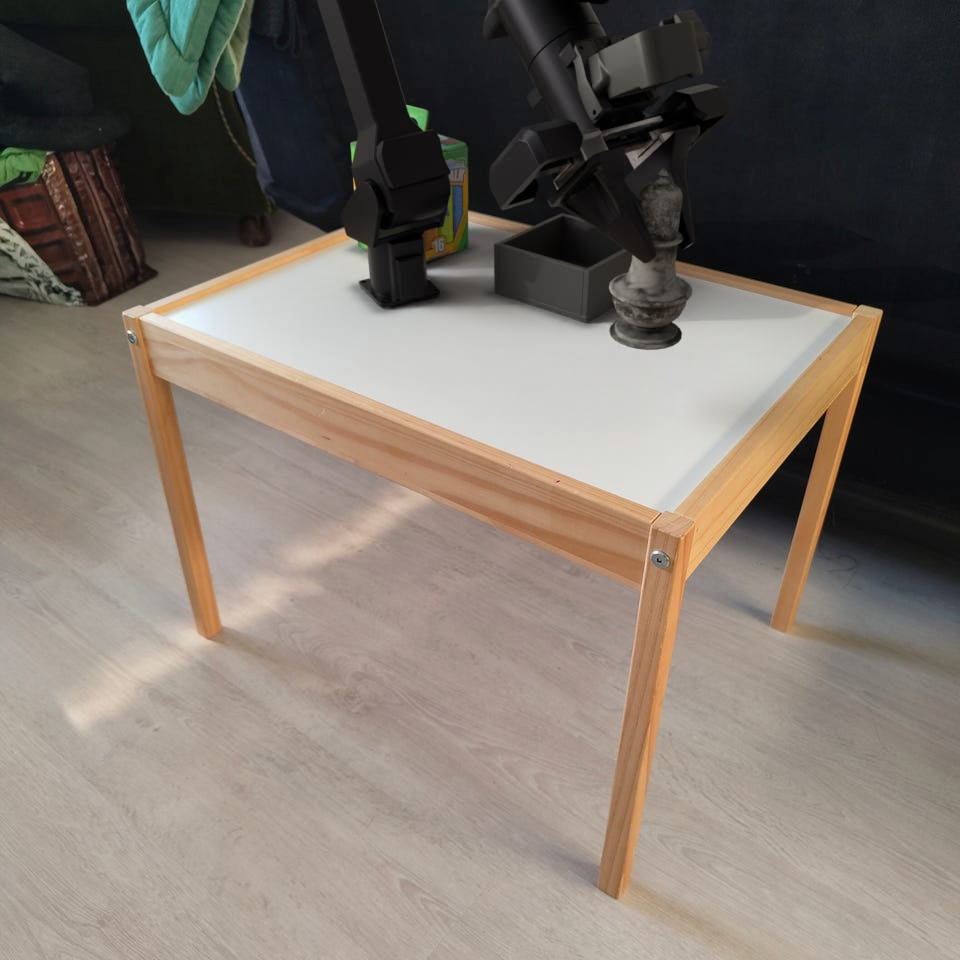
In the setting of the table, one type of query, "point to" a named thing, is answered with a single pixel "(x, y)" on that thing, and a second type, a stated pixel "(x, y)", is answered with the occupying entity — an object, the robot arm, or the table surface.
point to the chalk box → (456, 217)
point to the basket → (560, 267)
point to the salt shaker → (653, 276)
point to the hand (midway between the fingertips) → (670, 253)
